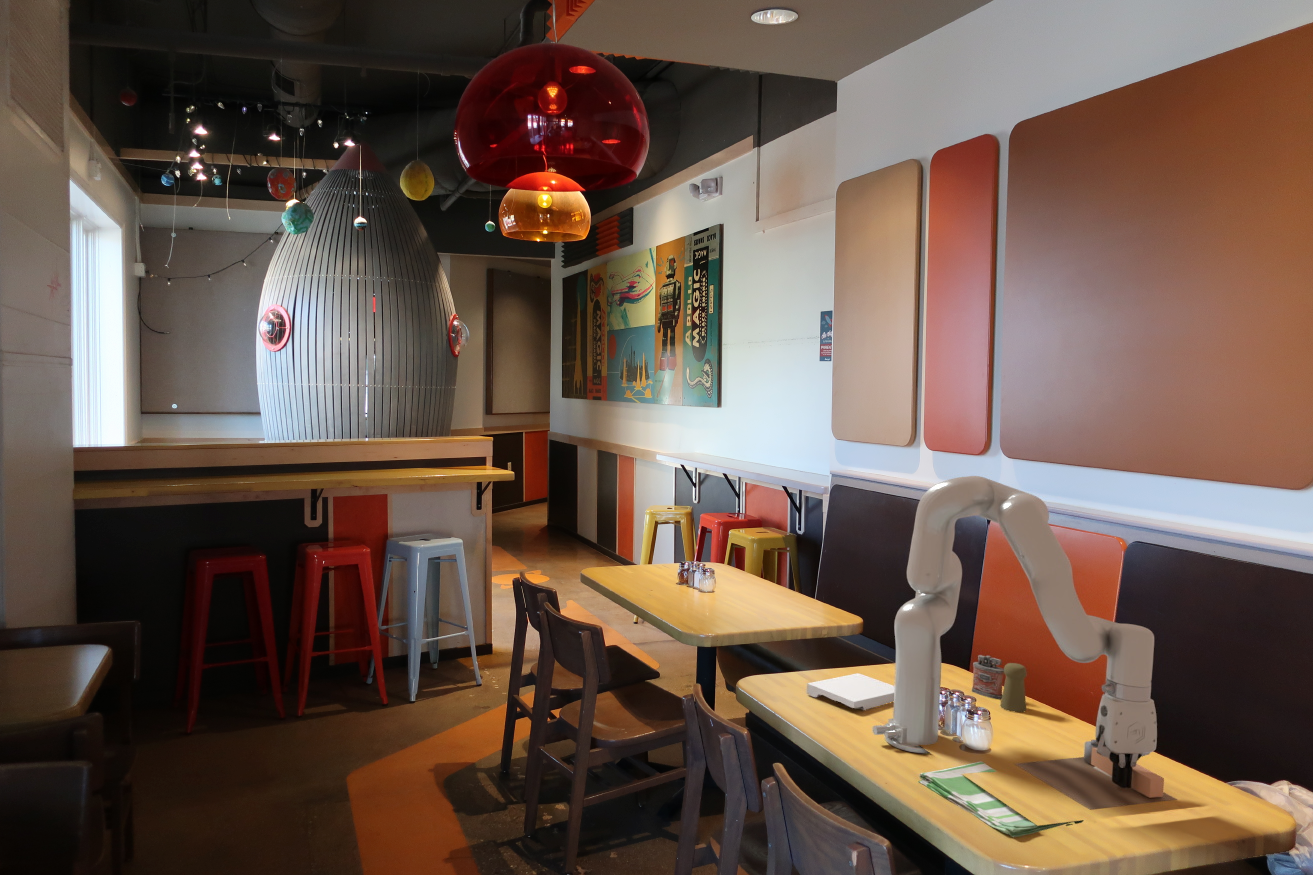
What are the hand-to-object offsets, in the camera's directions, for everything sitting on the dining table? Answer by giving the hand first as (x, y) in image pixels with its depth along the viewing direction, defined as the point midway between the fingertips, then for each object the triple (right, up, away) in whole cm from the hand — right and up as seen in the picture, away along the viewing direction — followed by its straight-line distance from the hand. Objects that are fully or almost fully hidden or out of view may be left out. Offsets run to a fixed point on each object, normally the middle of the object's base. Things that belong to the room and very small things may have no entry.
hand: (1121, 784), depth 161 cm
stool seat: (-4, -2, +3) cm, 6 cm away
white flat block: (-39, 0, +52) cm, 65 cm away
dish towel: (-26, -2, -4) cm, 26 cm away
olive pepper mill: (0, -1, +48) cm, 48 cm away
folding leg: (+3, 0, +5) cm, 6 cm away
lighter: (-3, -1, +58) cm, 58 cm away
